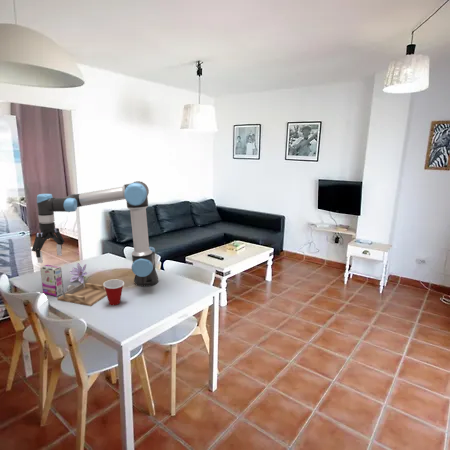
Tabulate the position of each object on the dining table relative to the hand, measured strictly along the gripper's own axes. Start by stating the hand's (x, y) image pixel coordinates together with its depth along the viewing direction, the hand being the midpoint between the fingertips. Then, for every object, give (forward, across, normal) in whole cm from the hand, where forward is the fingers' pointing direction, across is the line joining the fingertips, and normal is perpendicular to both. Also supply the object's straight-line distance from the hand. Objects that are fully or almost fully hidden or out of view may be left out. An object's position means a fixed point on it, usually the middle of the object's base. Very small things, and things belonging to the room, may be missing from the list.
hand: (50, 258), depth 179 cm
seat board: (+21, -3, +19) cm, 29 cm away
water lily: (+21, -20, 0) cm, 30 cm away
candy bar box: (+21, 0, 0) cm, 21 cm away
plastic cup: (+21, -1, +40) cm, 46 cm away
